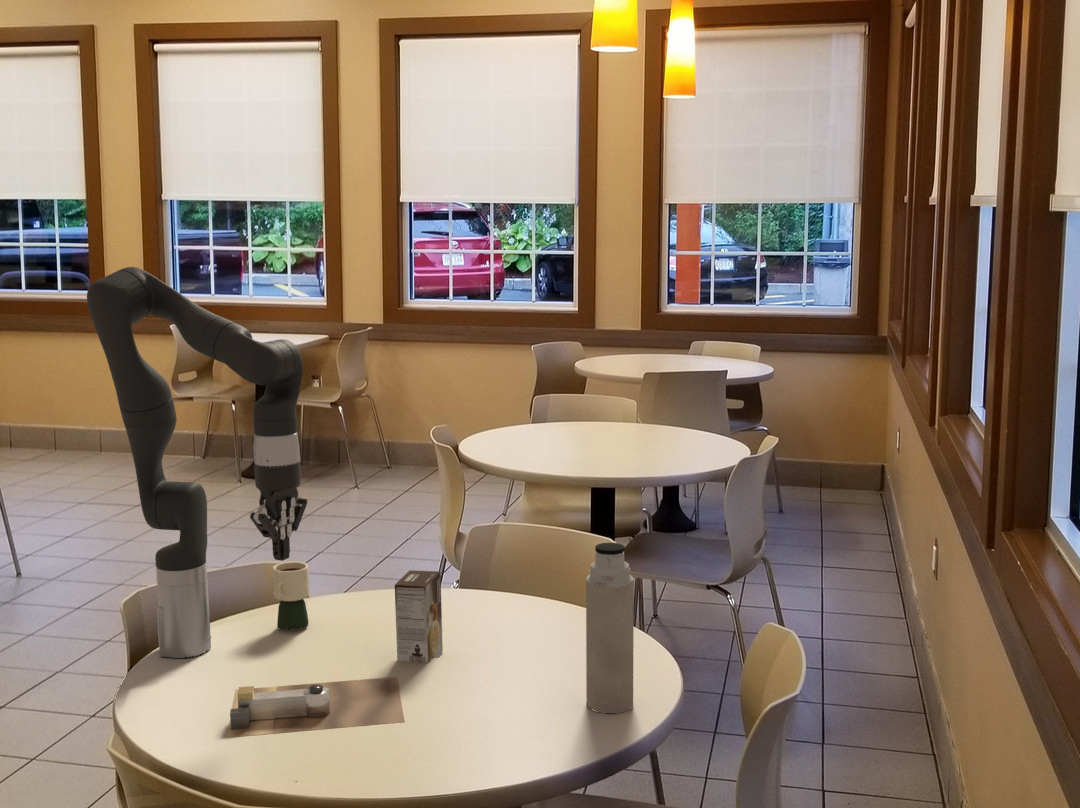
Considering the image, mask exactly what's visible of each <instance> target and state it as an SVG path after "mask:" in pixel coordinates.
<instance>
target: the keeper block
mask: <svg viewBox="0 0 1080 808" xmlns="http://www.w3.org/2000/svg"><path fill="white" fill-rule="evenodd" d="M229 717H230V718H229V719H230V720H229V723H230V722H231V730H236V729H248V728H249V724H250V723H249V707H247V708H235V709H232V708H230V711H229Z"/></svg>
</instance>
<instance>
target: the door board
mask: <svg viewBox="0 0 1080 808" xmlns="http://www.w3.org/2000/svg"><path fill="white" fill-rule="evenodd" d="M315 684H320V685H322V686H323V687H327V688H329V690H330V709H331V711H330V713H329V714H327V715H325V716H321V717H308V716H300V717H287V718H275V719H262V720H250V721H249V723H250V724H249V728H248V729H236V730H231V722H230V721H229V726H228V731H227V736H226V739H228V738H229V739H230V738H240V737H241V738H242V737H252V736H265V735H274V734H286V733H298V732H299V733H300V732H307V731H319V730H320V731H321V730H332V729H343V728H344V729H345V728H355V727H366V726H376V725H386V724H399V723H405V716H404V710H403V705H402V699H401V693H400V692H401V691H400V687H399V679H398V676H389V677H378V678H366V679H362V678H361V679H352V680H341V681H340V680H339V681H329V682H328V681H327V682H315V683H314V682H313V683H303V684H302V683H301V684H291V685H290V684H288V685H279V686H277V685H276V686H266V687H254V693H260V692H274V691H287V690H300V689H307V688H309V687H310V686H311V685H315ZM234 692H235V693H234V698H233V704H232V708H231V709H235V708H238V695H237V694H238V689H235V691H234Z"/></svg>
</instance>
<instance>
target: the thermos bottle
mask: <svg viewBox="0 0 1080 808" xmlns="http://www.w3.org/2000/svg"><path fill="white" fill-rule="evenodd" d="M594 550H595V552H596V553H595V559H594V561H593V562H591V563H590V565H589V570H588V571H589V574H588V575H587V576H586V578H585V580H586V581H585V590H586V591H585V592H586V593H585V596H586V597H585V600H586V601H585V602H586V603H585V605H586V606H585V607H586V609H585V610H586V611H585V619H586V620H585V621H586V622H585V624H586V625H585V627H586V629H585V630H586V631H585V632H586V633H585V636H586V637H585V640H586V642H585V644H586V645H585V646H586V648H585V651H586V658H585V659H586V660H585V662H586V681H585V682H586V695H585V696H586V706H587V705H588V706H589V707H590V708H591V709H593V710H595V711H594V712H596V711H597V712H596V713H599V712H601V713H600V714H606V713H616V714H621V713H620V712H622V713H624V712H627V710H628V711H629V710H631V709H632V708H633V706H634V624H635V623H634V620H635V619H634V608H635V607H634V605H635V603H634V599H635V598H634V595H635V594H634V591H635V590H634V589H635V588H634V577H633V576H632V575H631V574H630V572H631V568H630V564H629V563H628V562H627V561H625V554H624V552H625V550H626V549H625V545H624V544H621V543H620V542H619V543H618V542H602V543H598V544H596V545H595V549H594ZM588 706H587V707H588ZM589 707H588V708H589ZM631 707H632V708H631ZM590 708H589V709H590ZM630 708H631V709H630ZM591 709H590V710H591ZM593 710H592V711H593Z"/></svg>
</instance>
